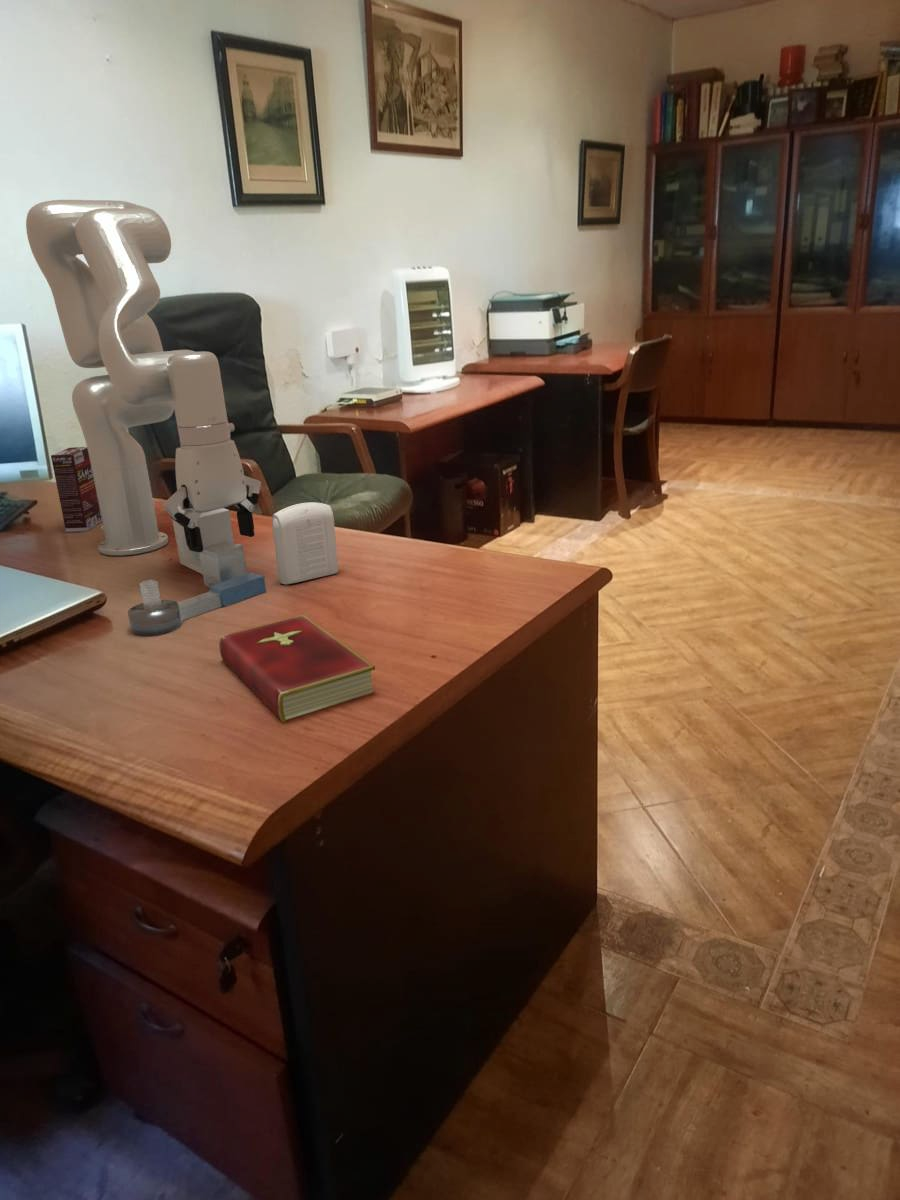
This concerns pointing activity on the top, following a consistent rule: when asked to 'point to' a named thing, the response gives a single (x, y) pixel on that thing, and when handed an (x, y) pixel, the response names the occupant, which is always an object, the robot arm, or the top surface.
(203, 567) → the white cube
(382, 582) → the top surface
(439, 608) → the top surface
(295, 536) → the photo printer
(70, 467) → the supplement box
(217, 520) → the skincare box
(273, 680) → the hardcover book
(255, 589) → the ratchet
